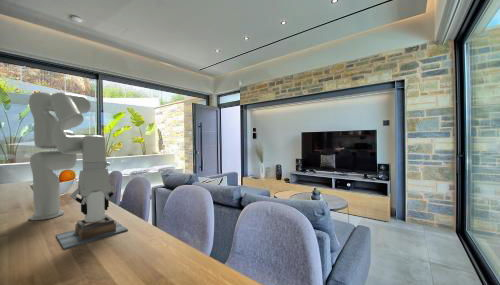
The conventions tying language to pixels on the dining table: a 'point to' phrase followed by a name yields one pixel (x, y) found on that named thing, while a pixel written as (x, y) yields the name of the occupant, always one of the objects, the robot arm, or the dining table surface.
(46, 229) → the dining table surface
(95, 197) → the can
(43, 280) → the dining table surface
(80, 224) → the board
